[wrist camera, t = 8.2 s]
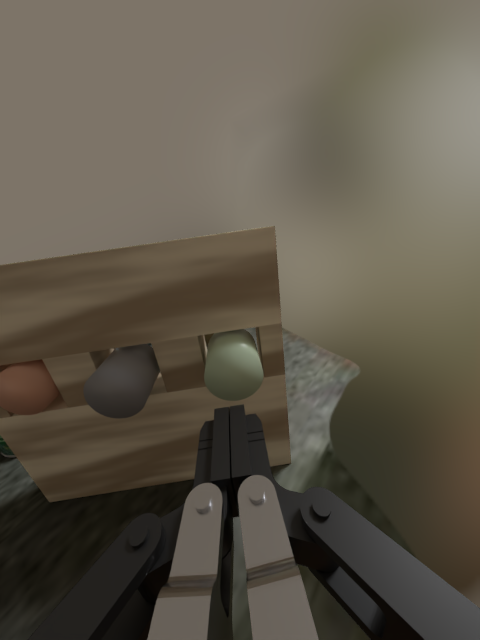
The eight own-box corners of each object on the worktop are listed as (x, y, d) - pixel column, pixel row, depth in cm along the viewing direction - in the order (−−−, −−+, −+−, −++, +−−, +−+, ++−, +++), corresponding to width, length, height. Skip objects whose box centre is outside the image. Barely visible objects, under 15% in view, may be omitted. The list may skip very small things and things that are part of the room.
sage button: (265, 396, 16) (260, 346, 14) (210, 404, 16) (198, 356, 14) (257, 364, 20) (252, 323, 18) (212, 371, 20) (203, 330, 18)
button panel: (291, 463, 22) (274, 225, 14) (49, 502, 22) (-112, 281, 14) (271, 395, 32) (254, 227, 23) (100, 421, 31) (23, 261, 23)
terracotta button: (58, 410, 17) (33, 367, 16) (6, 418, 17) (-24, 376, 16) (87, 379, 21) (69, 341, 20) (44, 385, 21) (23, 348, 20)
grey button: (153, 413, 16) (136, 365, 14) (96, 422, 16) (73, 375, 14) (166, 378, 19) (154, 337, 18) (120, 386, 19) (104, 345, 18)
